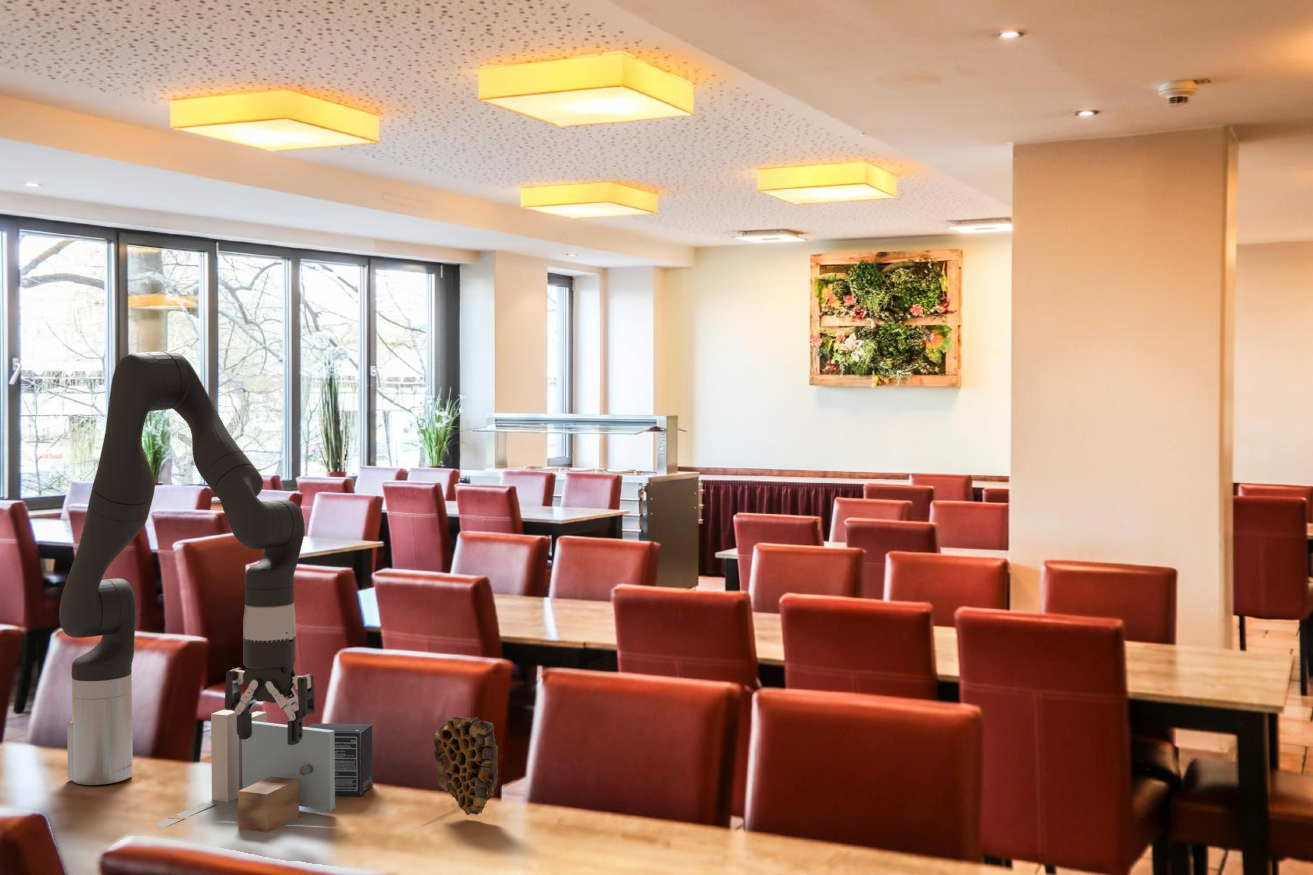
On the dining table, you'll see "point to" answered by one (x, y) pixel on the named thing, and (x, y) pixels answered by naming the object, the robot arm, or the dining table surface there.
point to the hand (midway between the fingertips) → (269, 740)
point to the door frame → (221, 761)
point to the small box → (351, 757)
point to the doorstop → (268, 804)
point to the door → (291, 761)
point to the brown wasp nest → (467, 761)
